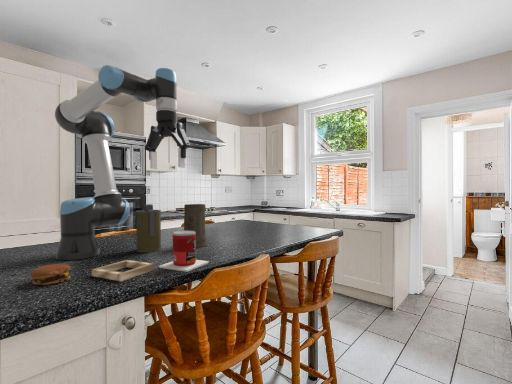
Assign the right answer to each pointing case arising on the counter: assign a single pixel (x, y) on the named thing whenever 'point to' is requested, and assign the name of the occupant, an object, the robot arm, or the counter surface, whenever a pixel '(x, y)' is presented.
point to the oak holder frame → (110, 273)
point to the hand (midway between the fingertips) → (167, 168)
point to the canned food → (184, 248)
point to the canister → (148, 229)
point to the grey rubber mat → (183, 268)
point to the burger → (50, 274)
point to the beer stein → (196, 222)
